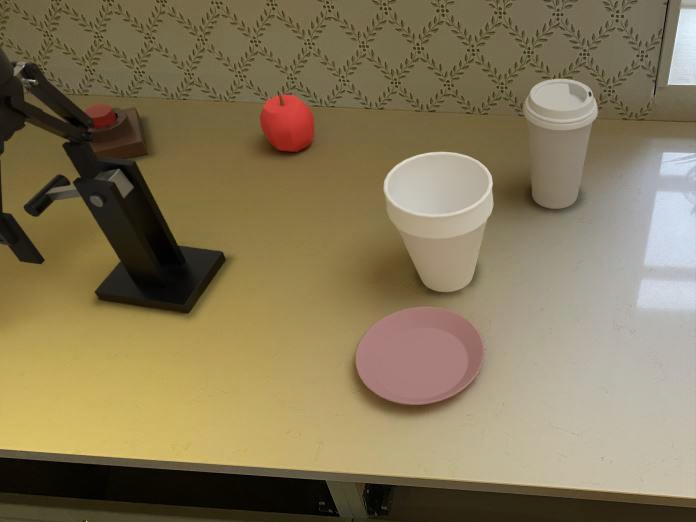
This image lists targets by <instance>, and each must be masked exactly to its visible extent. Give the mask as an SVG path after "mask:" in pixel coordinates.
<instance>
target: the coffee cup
mask: <svg viewBox="0 0 696 522" xmlns="http://www.w3.org/2000/svg"><path fill="white" fill-rule="evenodd" d="M522 112H523V115H524V117H525V118H526V122H527V137H528V149H529V151H528V152H529V164H530V165H529V166H530V180H531V181H530V182H531V196H532V199H533V201H534V202H535V203H536V204H537V205H539V206H541V207H543V208H547V209H553V210H560V209H565V208H568V207H571V206H572V205H574V204H575V203H576V202H577V199H578V196H579V192H580V191H579V190H580V186H581V180H582V176H583V171H584V165H585V162H586V161H585V160H586V156H587V150H588V146H589V142H590V137H591V136H590V135H591V131H592V126H593V123H594V121H595V120H596V118H597V117H598V115H599V108H598V104H597V100H596V98H595V96H594V93H593V90H592V89H591V88H590V87H589V86H588V85H586V84H584V83H583V82H580V81H577V80H574V79H569V78H552V79H547V80H543V81H541V82H539V83H537V84H535V85H534V86H533V87H532V88H531V89H530V92H529V94H528V95H527V97H526V99H525V100H524V103H523V108H522Z"/></svg>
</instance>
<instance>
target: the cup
mask: <svg viewBox="0 0 696 522" xmlns="http://www.w3.org/2000/svg"><path fill="white" fill-rule="evenodd" d="M493 185H494V183H493V176H492V174H491V172H490V171H489V169H488V168H487V166H485V165H484V164H483V163H481V162H480V160H477V159H476V158H473V157H471V156H469V155H466V154H462V153H458V152H449V151H431V152H430V151H429V152H425V153H421V154H416V155H414V156H411V157H408V158H406V159H404V160H402V161H400V162H399V163H397V164H395V166H393V168H392V169H390V171H389V172H388V173H387V174H386V177H385V178H384V180H383V194H384V196H385V198H384V199H385V207H386V213H387V216H388V218H389V221H391V223H392V224H393V225H394V226H395V227H396V229H397V231H398V233H399V235H400V238H401V239H402V241H403V244H404V246H405V248H406V250H407V252H408V254H409V257H410V259H411V261H412V263H413V266H414V267H415V269H416V272H417V273H418V276H419V278H420V280H421V282H422V283H423V285H424V286H425V287H426V288H428V289H429V290H432V291H434V292H439V293H453V292H456V291H459V290H462V289H464V288H466V287H467V286H468V285H470V283H471V281H472V280H473V278H474V273H475V270H476V266H477V262H478V257H479V254H480V250H481V246H482V242H483V238H484V233H485V230H486V226H487V222H488V218H490V216H491V215H492V212H493V208H494V194H493Z"/></svg>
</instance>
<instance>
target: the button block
mask: <svg viewBox="0 0 696 522" xmlns="http://www.w3.org/2000/svg"><path fill="white" fill-rule="evenodd" d="M112 109H113V111H114V113H115V115H116V117H117V119H116V121H115V122H113V123H111V124H109V125H107V126H103V127H93V128H92V129H90V128H89V130H88V132H92V133H93V135H94V141H93V142H89V144H90V146H91V147H92V149H93V151H94V153H95V154H96V156H97V158H98V157H99V156H101V157H109V158H117V159H126V160H129V159H131V158H135V157H140V156H145V155H148V154H149V153H148V148H147V142H146V138H145V132H144V128H143V122H142V118H141V116H140V114H139V112H138V110H137V108H136V106H132V107H128V108H123V109H122V108H119V107H112Z"/></svg>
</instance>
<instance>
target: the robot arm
mask: <svg viewBox="0 0 696 522" xmlns="http://www.w3.org/2000/svg"><path fill="white" fill-rule="evenodd" d="M24 89H25V90H26V91H28V93H30V94H31V95H33V96H34V97H35V98H36V99H38V100H39V101H40V102H41V103H42V104H44V105H45V106H46V107H47V108H49V109H50V110H51V111H52V112H53V113H55V114H56V115H57V116H58V117H60V118H61V119H60V118H58V117H56V116H54V115H52V114H50V113H47V112H45V111H43V108H40V107H38V106H36V105H34V104H31V103H29V102H28V101H26V100H25V92H24ZM84 111H85V110H83V109H81V108H80V107H79V106H78V105H77V104H76V103H75V102H73V101H72V100H71V99H70V98H69V97H67V96H66V95H65V94H64V93H63V92H62V91H61V90H59V89H58V88H57V87H56V86H55V85H54V84H52V83H51V82H50V81H49V80H48V79H47V77H46V75H45V74H44V72H43V71H42V70H41V68H40V66H38V64H37V63H35V62H26V61H15V60H12V61H11V60H10V59H9V57H8V55H7V54H6V52H5V51H4V49H3V47H2V45H0V156H2V155H3V154H4V152H5V142H9V140H11V138H13V136H14V135H15V133H16V132H18V131H22V130H23V129H24V128H25V127H26V126H27V125H26V124H25V123H28V124H30V125H33V126H35V127H37V128H39V129H42V130H43V131H46V132H48V133H51V134H53V135H55V136H58V137H60V138H62V139H64V140H66V141H64V142H63V144H61V147H62V148H63V149H64V152H65V153H66V155H67V157H68V158H69V161H70V162H71V163H72V164H73V167H74V169H75V170H76V172H77V174H78V176H79V177H81V178H88V179H94V178H95V177H96V176H97V175H98V174H99V173H100V170H99V168H98V167H97V165H96V163H95V160H96V159H97V156H96V154H95V153H94V151H93V149H92V147H91V146H90V144H89V142H93V141H94V135H93V133H92V132H88V130H89V128H90V129H92V128H93V127H94V121H93V119H92V118H90V117H89V116H88V115H87V114H86V113H85V112H84ZM67 140H68V141H67ZM1 163H2V162H1V161H0V245H1V246H7V247H8V248H9V250H11V252H12V253H13V254H14V256H15V258H17V260H18V261H19V262H20V263H27V264H34V265H39V266H40V265H42V264H43V263H44V262H45V261H46V259H45V257H43V255H42V254H41V253H40V251H39V250H38V248H37V247H36V245H35V244H34V243H33V242H32V240H31V239H30V237H29V236H28V234H27V233H26V231H24V229H23V228H22V226H21V225H20V224H19V222H18V221H17V220H16V218H15V217H14V215H13V214H12V213H10V212H4V211H3V189H2V188H3V187H2V167H1V166H2V164H1Z"/></svg>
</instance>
